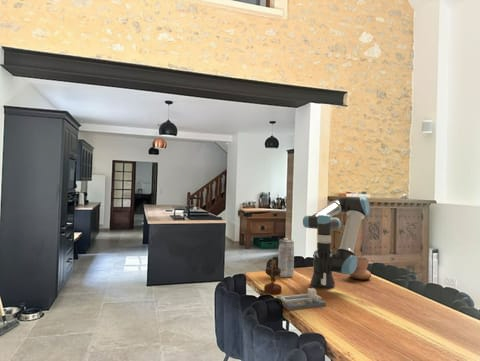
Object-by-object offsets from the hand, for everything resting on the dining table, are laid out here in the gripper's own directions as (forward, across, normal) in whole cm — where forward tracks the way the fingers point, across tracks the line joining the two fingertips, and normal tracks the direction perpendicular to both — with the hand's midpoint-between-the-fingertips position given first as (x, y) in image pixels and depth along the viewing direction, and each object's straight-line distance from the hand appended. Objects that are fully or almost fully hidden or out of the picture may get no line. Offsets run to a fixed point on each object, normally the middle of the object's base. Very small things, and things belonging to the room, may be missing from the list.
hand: (323, 284), depth 176 cm
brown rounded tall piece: (+9, +21, -22) cm, 32 cm away
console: (+9, +14, 0) cm, 17 cm away
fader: (+7, +7, 0) cm, 10 cm away
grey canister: (+9, -2, -51) cm, 52 cm away
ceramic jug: (+8, -50, -32) cm, 60 cm away
